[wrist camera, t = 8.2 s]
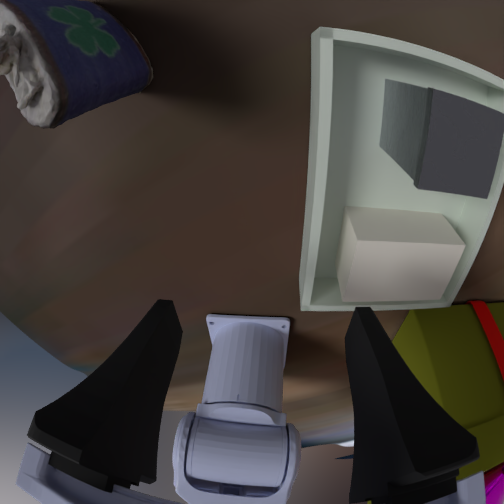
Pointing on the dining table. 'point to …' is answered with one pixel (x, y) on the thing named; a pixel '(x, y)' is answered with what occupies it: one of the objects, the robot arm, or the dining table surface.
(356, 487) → the robot arm
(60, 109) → the flask
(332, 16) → the dining table surface
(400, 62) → the tote
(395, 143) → the tin
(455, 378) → the gift box
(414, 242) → the egg box
